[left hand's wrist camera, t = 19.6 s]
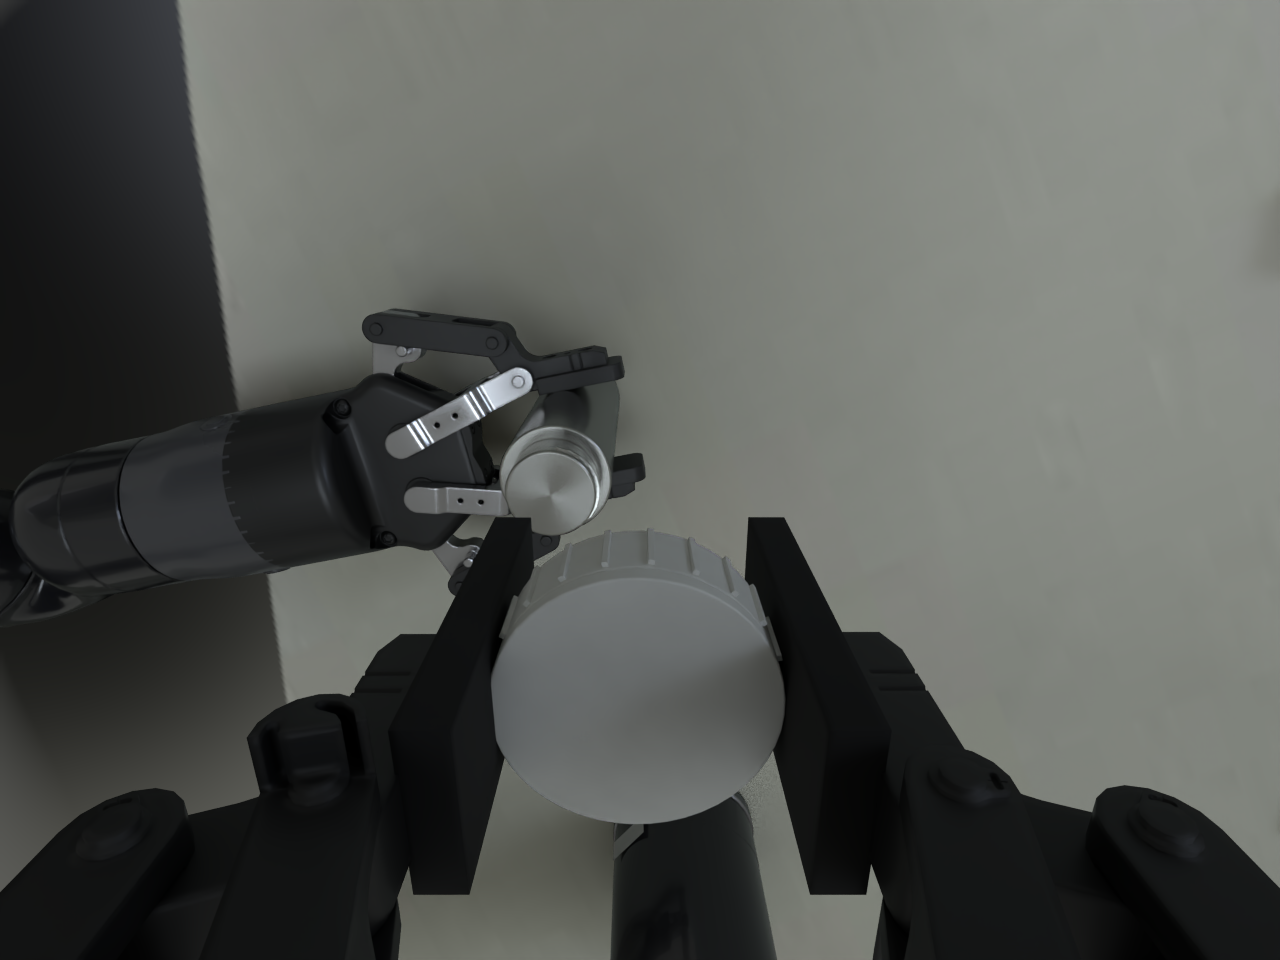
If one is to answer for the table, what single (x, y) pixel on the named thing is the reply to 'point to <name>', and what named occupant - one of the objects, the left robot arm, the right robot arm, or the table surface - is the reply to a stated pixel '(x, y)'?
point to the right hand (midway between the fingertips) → (631, 418)
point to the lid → (637, 679)
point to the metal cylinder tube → (563, 459)
